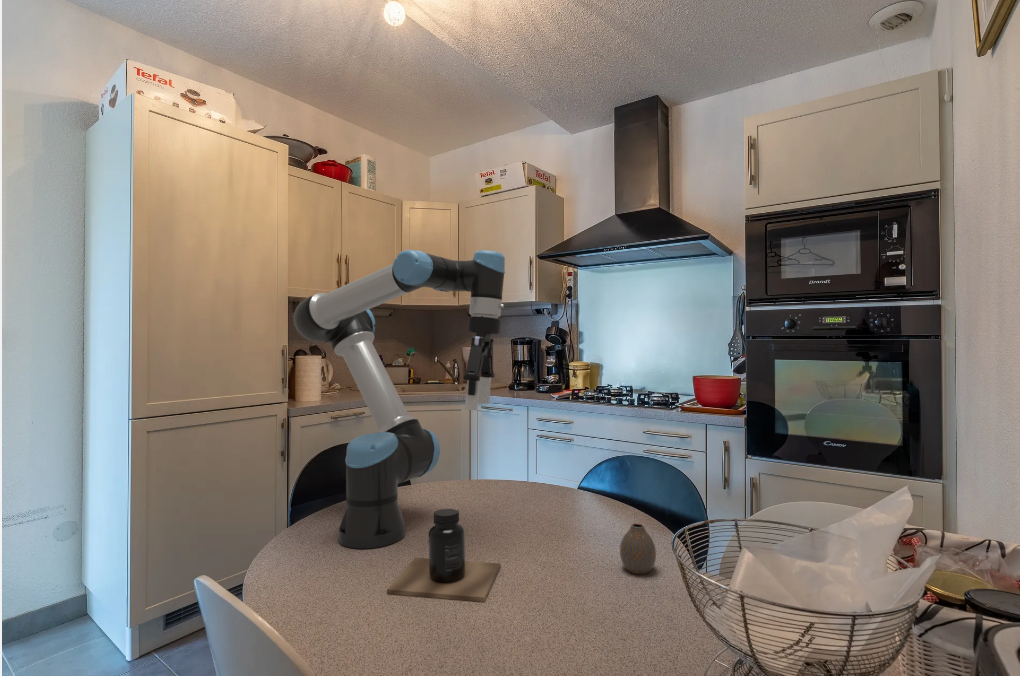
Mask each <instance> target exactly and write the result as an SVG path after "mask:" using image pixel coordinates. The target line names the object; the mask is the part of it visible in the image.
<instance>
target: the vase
mask: <svg viewBox="0 0 1020 676" xmlns="http://www.w3.org/2000/svg"><path fill="white" fill-rule="evenodd" d="M656 549H657V548H656V545H655V542H654V539H653V538H652V536H651V535H650V534H649V533H648V531H647V530H646V528H645V526H644V524H642V523H638V522H637V523H635V522H634V523H632V524H631V525H630V527H629V529H628V530H627V532H625V534H624V535H623V537H622V539H621V541H620V546H619V554H620V555H619V556H620V559H621V562H622V565H623V566H624V568H625V569H626V570H627V571H628V572H630V573H632V574H635V575H636V574H637V575H644V574H645V575H646V574H648V573H649V572H650V571H651V570H652V569H653V568H654V565H655V563H656V559H657V551H656Z"/></svg>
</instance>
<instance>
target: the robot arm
mask: <svg viewBox="0 0 1020 676" xmlns="http://www.w3.org/2000/svg"><path fill="white" fill-rule="evenodd" d="M393 260H394V261H393V263H392V264H389V265H387V266H385V267H382V268H380V269H378V270H376V271H373V272H371V273H369V274H367V275H365V276H363V277H361V278H358V279H355V280H353V281H352V282H349V283H347V284H345V285H343V286H341V287H337V288H335V289H334V290H332V291H330V292H327V293H326V292H317V293H314V294H313V295H311V296H308V297H307V298H305V299H304V300H302V301H301V302H299V304H298V305H297V306H296V308H295V310H294V313H293V324H294V327H295V328H296V331H297V332H298V333H299V335H301V337H303V338H304V339H306V340H308V341H310V342H314V343H329V344H330V346H331V347H332V350H333V352H334V354H335V355H336V356H339V357H343V360H344V361H345V364H346V365H347V367H348V369H349V373H350V374H351V376H352V378H353V380H354V382H355V384H356V386H357V389H358V390H359V392H360V394H361V397H362V399H363V400H364V403H365V405H366V406H367V409H368V410H369V413H370V415H371V416H372V419H373V421H374V423H375V426H376V427H377V429H378V432H373V433H366V434H363V435H360V436H357V437H355V438H353V439H352V440H350V442H348V444H347V447H346V456H345V459H344V460H345V481H346V483H345V484H346V485H345V490H346V491H345V493H346V494H345V495H346V497H345V498H346V500H345V501H346V502H345V503H346V504H345V505H346V506H345V509H344V512H343V515H342V517H341V518H342V519H341V521H340V524H339V528H338V534H337V536H338V537H337V538H338V543H339V544H340V545H342V546H344V547H346V548H350V549H361V550H362V549H375V548H382V547H386V546H390V545H393V544H394V543H395V544H396V543H397V542H399V541H401V540H402V539H403V538H404V537H405V536H406V523H405V519H404V516H403V513H402V511H401V508H400V504H399V502H398V500H399V499H398V486H399V484H401V483H404V482H407V481H409V480H413V479H416V478H422V477H423V476H424V475H426V474H428V473H429V472H431V471H432V470H434V468H435V467H436V466H437V464H438V463H439V459H440V455H441V445H440V441H439V439H438V437H437V435H436V434H435V433H434V432H432V430H429V429H427V428H423V427H422V425H421V423H420V422H419V419H418V418H416V417H415V416H411V415H409V413H408V411H407V409H406V407H405V405H404V402H403V401H402V399H401V397H400V395H399V393H398V391H397V389H396V387H395V385H394V383H393V381H392V380H391V377H390V375H389V373H388V372H387V370H386V367H385V366H384V364H383V362H382V360H381V357H380V356H379V354H378V352H377V349H376V348H375V346H374V344H373V343H374V340H375V332H376V331H375V330H376V327H375V325H376V320H375V316H374V315H373V312H372V311H371V309H373V308H375V307H378V306H381V305H382V304H385V303H387V302H389V301H391V300H394V299H397V298H399V297H401V296H404V295H406V294H408V293H411V292H414V291H416V290H419V289H421V288H430V289H433V290H435V291H440V292H445V293H449V292H468V293H469V292H470V300H469V312H468V314H469V315H471V316H469V317H468V325H467V330H468V331H467V332H469V333H472V334H475V336H474V335H472V336H471V343H470V349H469V354H468V360H467V364H466V371H465V374H464V375H463V380H464V381H467V382H466V393H465V402H464V403H465V405H464V410H467V411H478V409H479V404H482V405H483V404H484V405H489V404H490V401H491V400H490V398H491V397H490V396H491V387H492V386H491V385H492V378H495V375H496V374H495V373H494V338H492V337H491V335H499V334H500V333H501V332H500V331H501V320H500V319H499V317H501V316H502V315H501V314H502V309H504V308H505V305H504V304H503V301H502V300H503V290H504V279H505V274H506V271H505V266H506V260H505V255H504V254H503V253H502V252H498V251H494V250H486V249H483V250H481V249H480V250H477V251H475V252H474V254H473V258H472V259H471V260H454V259H450V258H446V257H441V256H437V255H435V254H430V253H426V252H424V251H421V250H414V249H413V250H412V249H405V250H403V251H400V252H399V253H398V254H397V256H396V257H395V258H394V259H393ZM480 375H481V376H480Z"/></svg>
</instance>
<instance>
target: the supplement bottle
mask: <svg viewBox="0 0 1020 676" xmlns="http://www.w3.org/2000/svg"><path fill="white" fill-rule="evenodd" d="M432 521H433V525H432V526H431V527H430V529H429V531H428V558H429V574H430V577H431V579H432V580H434V581H436V582H441V583H449V582H454V581H457V580H459V579H461V578H462V577H463V576H464V574H465V561H466V539H465V538H466V537H465V535H466V534H465V533H466V532H465V528H464V526H463V525H462V524H461V523H460V511H459V510H458V509H456V508H442V509H438V510H435V511H434V512H433V520H432Z"/></svg>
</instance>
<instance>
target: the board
mask: <svg viewBox="0 0 1020 676" xmlns="http://www.w3.org/2000/svg"><path fill="white" fill-rule="evenodd" d="M501 567H502V566H501V563H499V562H498V563H497V562H484V561H483V562H482V561H469V560H468V561H467V560H465V574H464V576H463V577H462V578H461V579H459V580H457V581H454V582H449V583H441V582H436V581H434V580H432V579H431V577H430V574H429V557H425V558H424V557H415V558H414V559H413V560H411V562H409V564H407V566H406V567H405V568H404V570H402V571H401V572H400V574H399V575H398V577H396V578H395V580H394V581H393V582H392V583H391V584H389V586H388V588H387V589H386V594H387V595H396V596H407V597H419V598H432V599H444V600H453V601H465V602H466V601H467V602H477V603H485V602H486V601H487V597H488V596H489V594H490V591H491V590H492V587H493V585H494V582H495V581H496V578H497V576H498V575H499V572H500V570H501Z"/></svg>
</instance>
